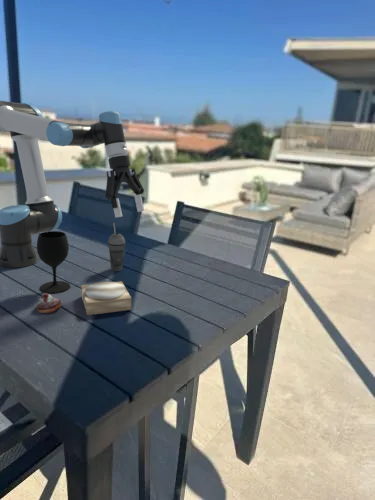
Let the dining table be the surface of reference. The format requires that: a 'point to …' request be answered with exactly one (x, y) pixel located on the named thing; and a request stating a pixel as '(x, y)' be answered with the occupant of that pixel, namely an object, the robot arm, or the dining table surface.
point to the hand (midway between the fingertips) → (130, 214)
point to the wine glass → (53, 257)
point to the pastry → (48, 304)
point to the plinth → (105, 297)
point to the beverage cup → (116, 250)
